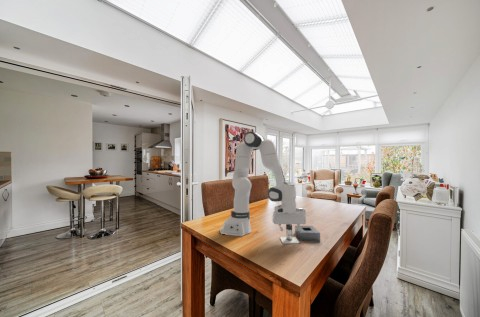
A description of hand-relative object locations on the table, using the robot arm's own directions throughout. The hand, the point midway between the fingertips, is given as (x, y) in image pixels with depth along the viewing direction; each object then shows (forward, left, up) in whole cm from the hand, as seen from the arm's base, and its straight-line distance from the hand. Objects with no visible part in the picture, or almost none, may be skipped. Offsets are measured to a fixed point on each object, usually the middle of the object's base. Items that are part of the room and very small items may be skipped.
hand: (289, 230), depth 108 cm
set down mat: (0, 0, -6) cm, 6 cm away
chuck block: (+13, +6, -6) cm, 16 cm away
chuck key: (0, 0, -6) cm, 6 cm away
